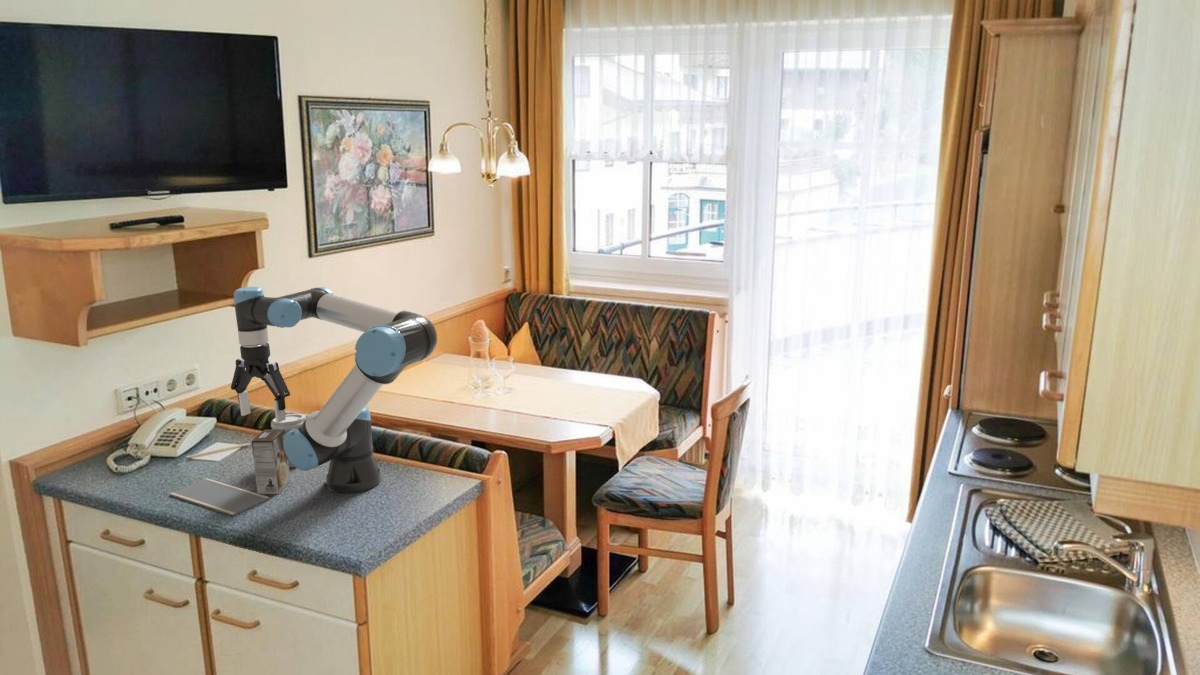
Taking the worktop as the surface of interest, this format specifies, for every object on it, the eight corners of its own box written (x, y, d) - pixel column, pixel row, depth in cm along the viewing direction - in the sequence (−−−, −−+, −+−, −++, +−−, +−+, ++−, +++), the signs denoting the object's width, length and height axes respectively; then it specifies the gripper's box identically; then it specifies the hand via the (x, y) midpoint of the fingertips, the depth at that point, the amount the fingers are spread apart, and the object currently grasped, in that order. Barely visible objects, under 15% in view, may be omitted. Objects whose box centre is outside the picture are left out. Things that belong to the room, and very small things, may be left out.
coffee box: (269, 480, 261) (263, 428, 257) (291, 481, 261) (286, 428, 257) (256, 494, 252) (250, 440, 248) (279, 494, 252) (274, 440, 248)
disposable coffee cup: (266, 465, 272) (261, 418, 268) (295, 454, 280) (291, 408, 277) (290, 473, 266) (286, 425, 262) (319, 461, 275) (315, 414, 271)
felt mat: (269, 499, 249) (269, 497, 249) (232, 516, 239) (232, 514, 239) (207, 480, 261) (206, 478, 261) (169, 495, 251) (169, 493, 251)
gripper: (298, 345, 244) (306, 419, 249) (233, 336, 256) (242, 407, 261) (276, 351, 238) (285, 428, 243) (211, 342, 249) (221, 415, 254)
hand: (263, 417), depth 252 cm, fingers open, 13 cm apart
